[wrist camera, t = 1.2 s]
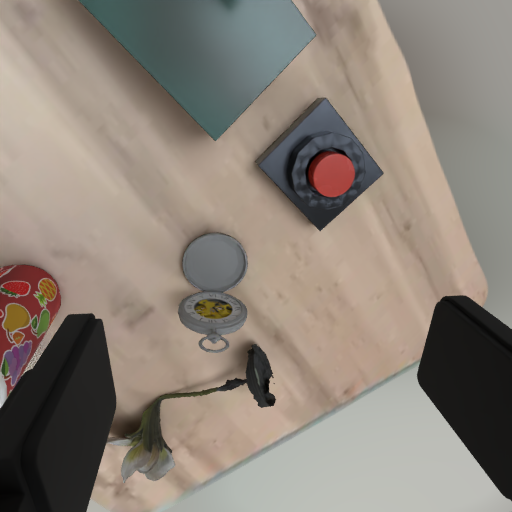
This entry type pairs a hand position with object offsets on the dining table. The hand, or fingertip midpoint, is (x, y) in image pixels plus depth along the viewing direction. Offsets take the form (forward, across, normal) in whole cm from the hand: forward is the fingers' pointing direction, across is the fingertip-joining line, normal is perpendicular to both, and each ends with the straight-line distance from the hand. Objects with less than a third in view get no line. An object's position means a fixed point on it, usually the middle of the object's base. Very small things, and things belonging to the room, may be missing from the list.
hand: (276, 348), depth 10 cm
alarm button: (+22, -9, -1) cm, 24 cm away
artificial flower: (+26, +5, +28) cm, 38 cm away
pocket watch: (+26, +2, +10) cm, 28 cm away
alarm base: (+26, -9, -1) cm, 27 cm away
